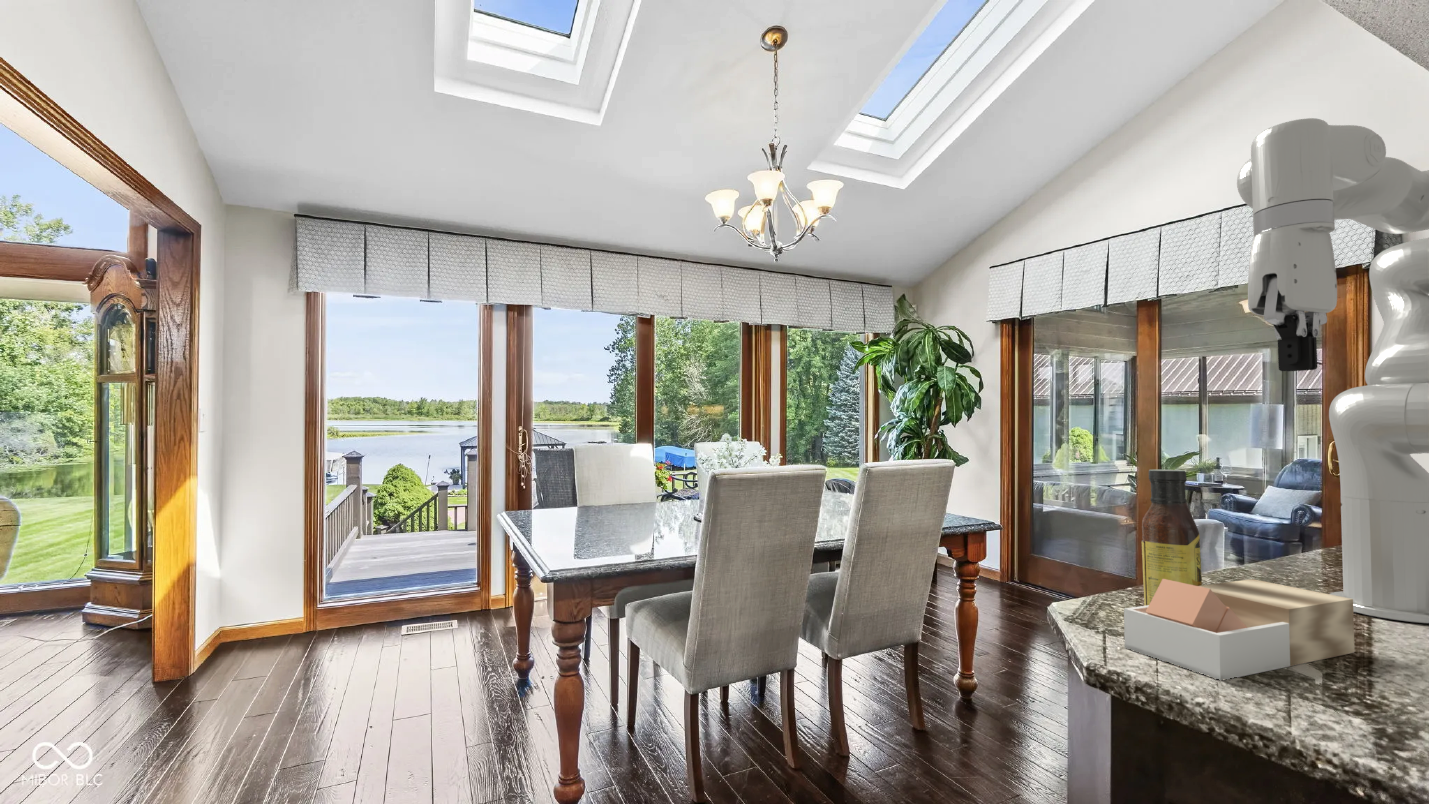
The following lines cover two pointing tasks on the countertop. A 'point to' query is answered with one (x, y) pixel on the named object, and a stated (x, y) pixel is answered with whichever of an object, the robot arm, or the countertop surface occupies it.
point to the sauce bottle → (1169, 535)
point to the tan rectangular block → (1294, 616)
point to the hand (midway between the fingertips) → (1297, 370)
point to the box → (1208, 645)
